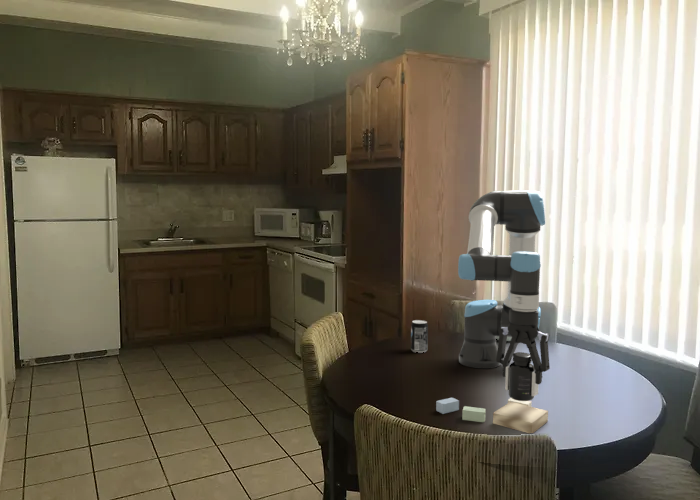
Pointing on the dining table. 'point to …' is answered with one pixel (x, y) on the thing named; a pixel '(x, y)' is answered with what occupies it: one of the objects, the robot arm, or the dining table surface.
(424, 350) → the beverage can
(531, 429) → the maple block
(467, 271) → the robot arm
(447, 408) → the dusty blue brick
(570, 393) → the dining table surface
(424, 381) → the dining table surface
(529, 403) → the cream brick
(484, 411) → the sage brick
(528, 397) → the supplement bottle
